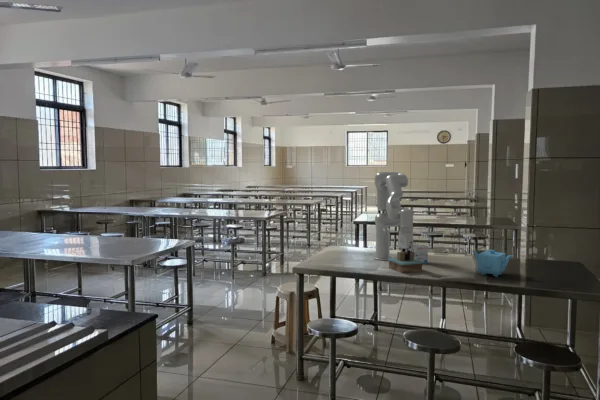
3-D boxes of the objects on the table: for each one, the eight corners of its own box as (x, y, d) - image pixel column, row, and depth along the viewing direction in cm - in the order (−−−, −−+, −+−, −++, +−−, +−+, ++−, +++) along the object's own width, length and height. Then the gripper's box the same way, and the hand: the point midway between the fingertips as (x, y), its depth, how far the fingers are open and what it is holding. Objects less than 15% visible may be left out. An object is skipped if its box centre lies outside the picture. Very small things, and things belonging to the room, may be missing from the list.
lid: (386, 260, 285) (387, 250, 285) (408, 258, 291) (408, 248, 291) (402, 265, 270) (402, 255, 270) (424, 263, 276) (424, 253, 276)
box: (389, 269, 285) (389, 260, 284) (407, 268, 290) (408, 258, 290) (402, 274, 272) (402, 264, 271) (421, 272, 277) (422, 263, 277)
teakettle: (497, 270, 285) (498, 247, 284) (514, 278, 266) (515, 252, 265) (468, 271, 283) (469, 247, 282) (483, 278, 264) (484, 253, 263)
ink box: (423, 262, 308) (424, 245, 307) (427, 264, 303) (428, 246, 302) (412, 263, 306) (412, 245, 305) (416, 264, 301) (416, 246, 300)
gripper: (393, 228, 285) (392, 257, 287) (409, 231, 270) (408, 262, 272) (403, 227, 288) (402, 256, 289) (419, 231, 273) (418, 261, 274)
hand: (405, 259), depth 281 cm, fingers closed on lid, 3 cm apart
